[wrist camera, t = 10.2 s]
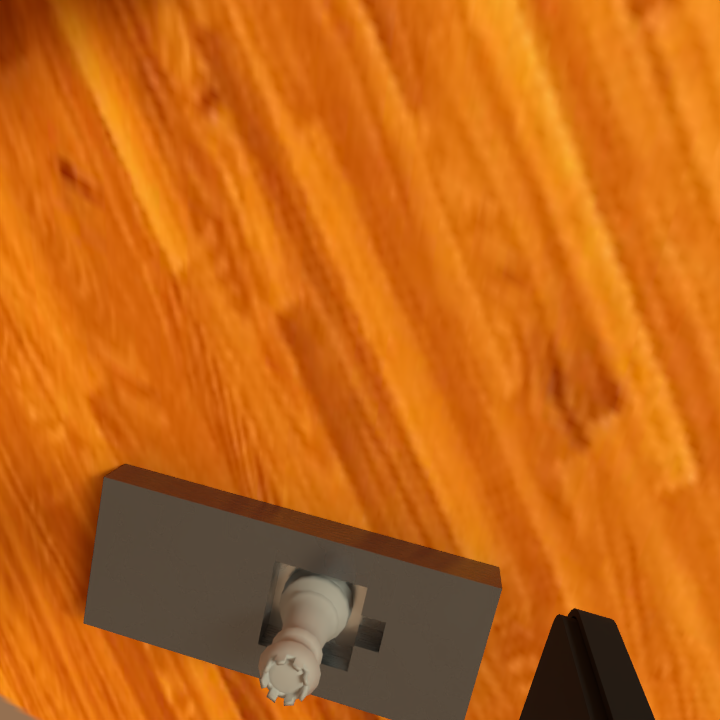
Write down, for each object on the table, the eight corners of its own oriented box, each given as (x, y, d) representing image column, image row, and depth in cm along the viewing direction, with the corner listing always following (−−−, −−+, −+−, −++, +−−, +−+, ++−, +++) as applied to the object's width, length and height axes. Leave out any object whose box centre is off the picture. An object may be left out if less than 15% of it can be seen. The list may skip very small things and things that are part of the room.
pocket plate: (125, 463, 39) (103, 477, 37) (499, 567, 36) (502, 588, 34) (104, 602, 41) (83, 623, 39) (458, 710, 38) (458, 740, 36)
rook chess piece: (369, 601, 38) (347, 691, 30) (318, 642, 39) (283, 739, 31) (320, 548, 37) (284, 624, 30) (270, 590, 38) (222, 674, 31)
